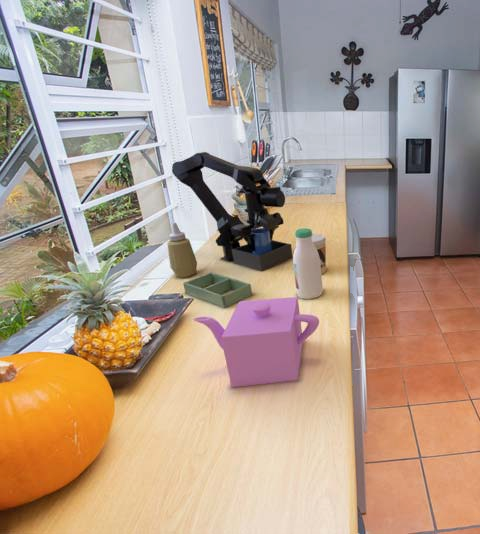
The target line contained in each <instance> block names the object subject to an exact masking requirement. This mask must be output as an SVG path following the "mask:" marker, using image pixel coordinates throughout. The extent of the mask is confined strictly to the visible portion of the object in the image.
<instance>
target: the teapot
mask: <svg viewBox="0 0 480 534" xmlns="http://www.w3.org/2000/svg"><path fill="white" fill-rule="evenodd" d="M298 297H299V296H291V297H279V298H278V297H276V298H265V299H252V300H251V299H250V300H240V301H238V302H237V305H236V306H235V308H234V311H233V312H232V315H231V316H230V318H229V320H228V323H227V325H226V326H225V328H224V327H223V326H222V325H221V323H220V322H219V321H218V320H216V319H215V318H213V317H210V316H199V317H195V318H193V321H194V322H196V323H200V324H202V325H204V326H205V327H207V328H208V329H209V330H210V331H211V333H212V335H213V337H214V339H215V341H216V342H217V344H218V346H219V347H220V349H221V350H223V353H224V358H225V363H226V368H227V372H228V376H229V377H228V378H229V382H230V385H231V388H238V387H248V386H256V385H257V386H258V385H267V384H275V383H285V382H294V381H298V380H299V371H300V366H301V365H300V364H301V357H302V351H303V342H304V341H306V340H307V339H308V338H310V337H311V336H312V335H313V334H314V333H315V332H316V331H317V329H318V327H319V326H320V325H319V324H320V320H319V318H318V316H316V315H313V314H305V313H303V314H302V313H300V312H301V311H300V305H299V298H298ZM302 323H307V324H306V327H305V328H304V330H303V329H302V328H303V327H302Z"/></svg>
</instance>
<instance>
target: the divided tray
mask: <svg viewBox="0 0 480 534" xmlns="http://www.w3.org/2000/svg"><path fill="white" fill-rule="evenodd" d="M206 286H207V287H206ZM183 289H184V292H185V294H186V295H189V296H192V297H195V298H196V299H197V298H198V299H200V300H202V301H205V302H208V303H211V304H212V305H213V304H214V305H216V306H219V307H222V308H223V309H225V308H227V307H230V306H231V305H234V304H236V303H239V301H243V300H244V299H246V298H248V297H250V296H252V295H253V289H252V284H251V283H248V282H245V281H243V280H238V279H236V278H232V277H229V276H225V275H222V274H219V273H216V272H213V271H211V272H207V273H206V274H203V275H200V276H198V277H195V278H193V279H190V280H187V281H184V282H183ZM230 290H232V291H230ZM227 291H228V293H225V292H227ZM229 291H230V292H229ZM223 293H225V294H223Z"/></svg>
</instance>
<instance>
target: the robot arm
mask: <svg viewBox="0 0 480 534" xmlns="http://www.w3.org/2000/svg"><path fill="white" fill-rule="evenodd" d="M171 166H172V167H171V172H172V174H173V176H174V177H175V178H176V179H177V180H178V181H179V182H180V183H182V184H183V185H185V186H187V187H189V188H190V189H191V190H192V191H193V193H194V194H195V195H196V197H197V198H198V199H199V201H200V202H201V203H202V204H203V206H204V207H205V208H206V210H207V211H208V212H209V213H210V215H211V216H212V217H213V219H214V221H215V222H216V226H217V231H218V233H219V235H218V236H217V237H216V239H215V243H216V245H217V246H218V247H221V248H222V252H223V256H222V257H220V260H222V261H226V262H229V263H234V259H233V254H232V249H234V248H237V247H240V246H241V243H240V241H242V240H244V241H245V243H246V244H248V245H249V247H250V248H251V249H252V251H255V243H254V236H255V234H253V233H252V230H253V229H258V228H265V229H266V230H270V238H271V242H272V240H273V238H274V233H275V231H276V230H277V229H278V228H280V226H281V225H284V219H283V217H282V216H281V213H280V212H274V213H269V210H268V208H267V207H269V208H283V207H284V205H285V204H286V203H285V202H286V196H285V194H284V191H283V190H281V186H271V184H270V183H269V181H268V180H266V178H265V177H264V176H263V173H262V170H260V169H259V168H257V167H252V166H246V165H245V166H244V165H238V164H235V163H233V162H230V161H227V160H226V159H223V158H220V157H217V156H215V155H212V154H210V153H209V152H207V151H202V152H201V151H200V152H196V153H195V154H193V155H192V156H190V157H187V158H184V159H183V160H179V161H175V162H173V164H172V165H171ZM205 168H207V169H209V170H213V171H215V172H217V173H219V174H222V175H224V176H227V177H230V178H232V179H233V180H234V181H235V183H237V184H239V185H240V186H241V188H239V190H238V191H237V192H238V194H244V198H245V204H246V205H245V206H246V208H244V213H247V217H248V219H247V220H246V223H247V224H248V225H247V224H245V223H244V222H243V221H242V220H241V219H240V217H239V216H238V215H237V214H236V215H231V214H229V213H228V211H227V210H226V208H225V207H224V206H223V205H222V203H221V201H220V200H219V199H218V198H217V196H216V195H215V194H214V193H213V191H212V190H211V188H210V187H209V186H208V185H207V184H206V181H204V175H203V171H202V169H205Z"/></svg>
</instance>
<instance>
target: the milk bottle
mask: <svg viewBox="0 0 480 534" xmlns="http://www.w3.org/2000/svg"><path fill="white" fill-rule="evenodd" d="M312 234H313V231H312V229H311V228H304V227H303V228H298V229H296V230H295V231H294V235H295V239H296V244H295V248H294V250H293V253H292V256H293V258H292V264H293V265H292V266H293V271H294V272H293V273H294V282H295V289H296V295H297V297H299V298H301V299H307V300H309V299H315V298H318V297H320V296H322V295H323V292H324V287H323V278H322V274H321V266H320V258H319V254H318V251H317V249H316V248H315V246H314V244H313V242H312Z"/></svg>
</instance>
